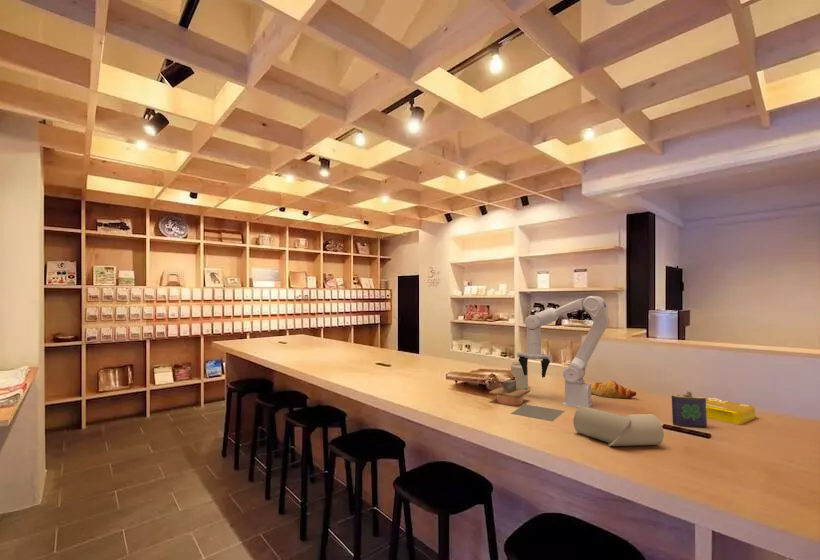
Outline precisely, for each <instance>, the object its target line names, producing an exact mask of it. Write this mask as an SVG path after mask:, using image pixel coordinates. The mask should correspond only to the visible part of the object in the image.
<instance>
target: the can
mask: <svg viewBox="0 0 820 560" xmlns="http://www.w3.org/2000/svg"><path fill="white" fill-rule="evenodd" d="M528 370H529V369H528V365H527V375H524V372H523V369H522V366H521V364H520V362H519V361H513V362H512V364H511V365H510V375H511V374H512V375H513V376H514V377H515V380H516V388H518V389H525V390H527V389H528V387H529V378H528V377H529V373H528Z"/></svg>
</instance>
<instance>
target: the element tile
mask: <svg viewBox="0 0 820 560" xmlns="http://www.w3.org/2000/svg"><path fill="white" fill-rule="evenodd" d="M705 398H706V415H707V419H711V420H715V421H719V422H724V423H729V424H732V425H738V426H739V425H740V426H741V425H744V424H746V423H749V422H751V421H754V420H755V419H756V407H755V406H754V405H751V404H746V403H745V404H744V403H739V402H736V401H735V402H734V401H728V400H724V399H719V398H716V397H705Z"/></svg>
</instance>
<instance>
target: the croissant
mask: <svg viewBox="0 0 820 560" xmlns="http://www.w3.org/2000/svg"><path fill="white" fill-rule="evenodd" d="M589 384H590V383H589ZM590 385H591V395H594V396H597V397H598V396H599V397H603V398H610V399H611V398H612V399H614V398H615V399H631V398H633V397H637V392H636V391H635V390H631V389H630V388H625V387H624V386H623V385H622V384H617V383H616V381H614V380H606V381H604V382H599V381H598V382H595V383H591V384H590Z"/></svg>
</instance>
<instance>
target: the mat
mask: <svg viewBox="0 0 820 560" xmlns="http://www.w3.org/2000/svg"><path fill="white" fill-rule="evenodd" d="M564 412H565V410H561V409H554V408H549V407H542V406H537V405H531V404H523V405H522V406H520V407H519V408H517V409H516V410H514V411H512V412H510V414H511V415H516V416H521V417H526V418H533V419H537V420H542V421H547V422H554V421H555V420H556V419H557V418H559V417H560V416H561V415H562V414H564Z"/></svg>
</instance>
